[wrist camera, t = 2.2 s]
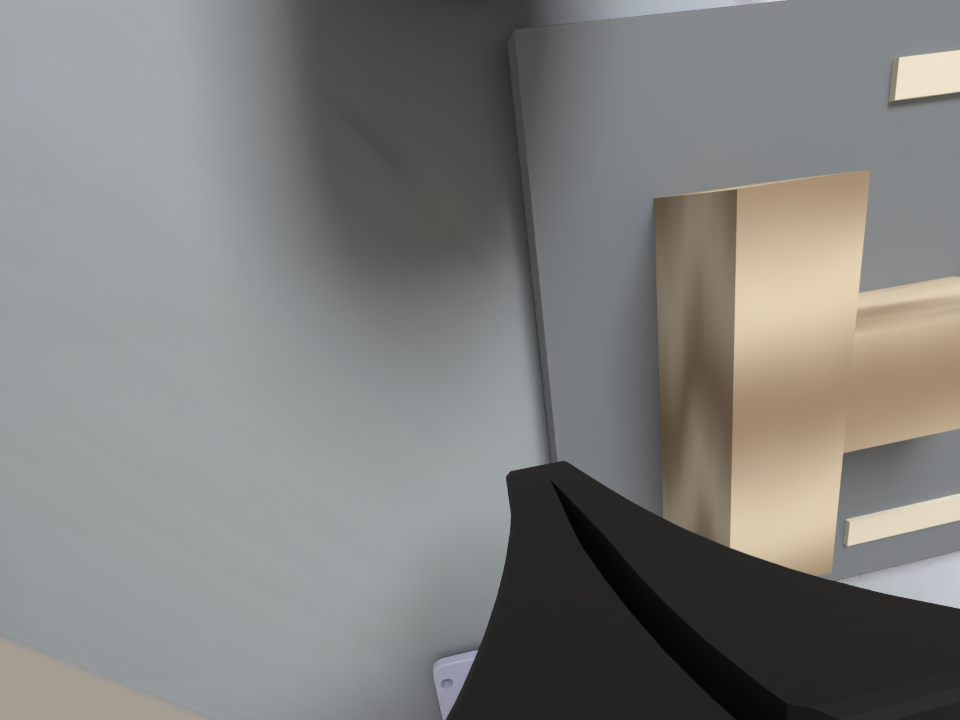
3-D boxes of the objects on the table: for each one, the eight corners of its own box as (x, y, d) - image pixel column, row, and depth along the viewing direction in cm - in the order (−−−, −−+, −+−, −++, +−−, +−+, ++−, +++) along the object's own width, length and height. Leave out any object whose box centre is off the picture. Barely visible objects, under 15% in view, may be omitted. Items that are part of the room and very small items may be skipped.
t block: (925, 463, 20) (1049, 520, 16) (663, 520, 18) (729, 596, 15) (972, 151, 16) (1147, 129, 12) (653, 198, 15) (737, 189, 11)
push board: (1099, 498, 23) (1135, 512, 22) (568, 623, 21) (577, 646, 19) (1251, -39, 17) (1312, -58, 16) (506, 42, 14) (515, 26, 13)
